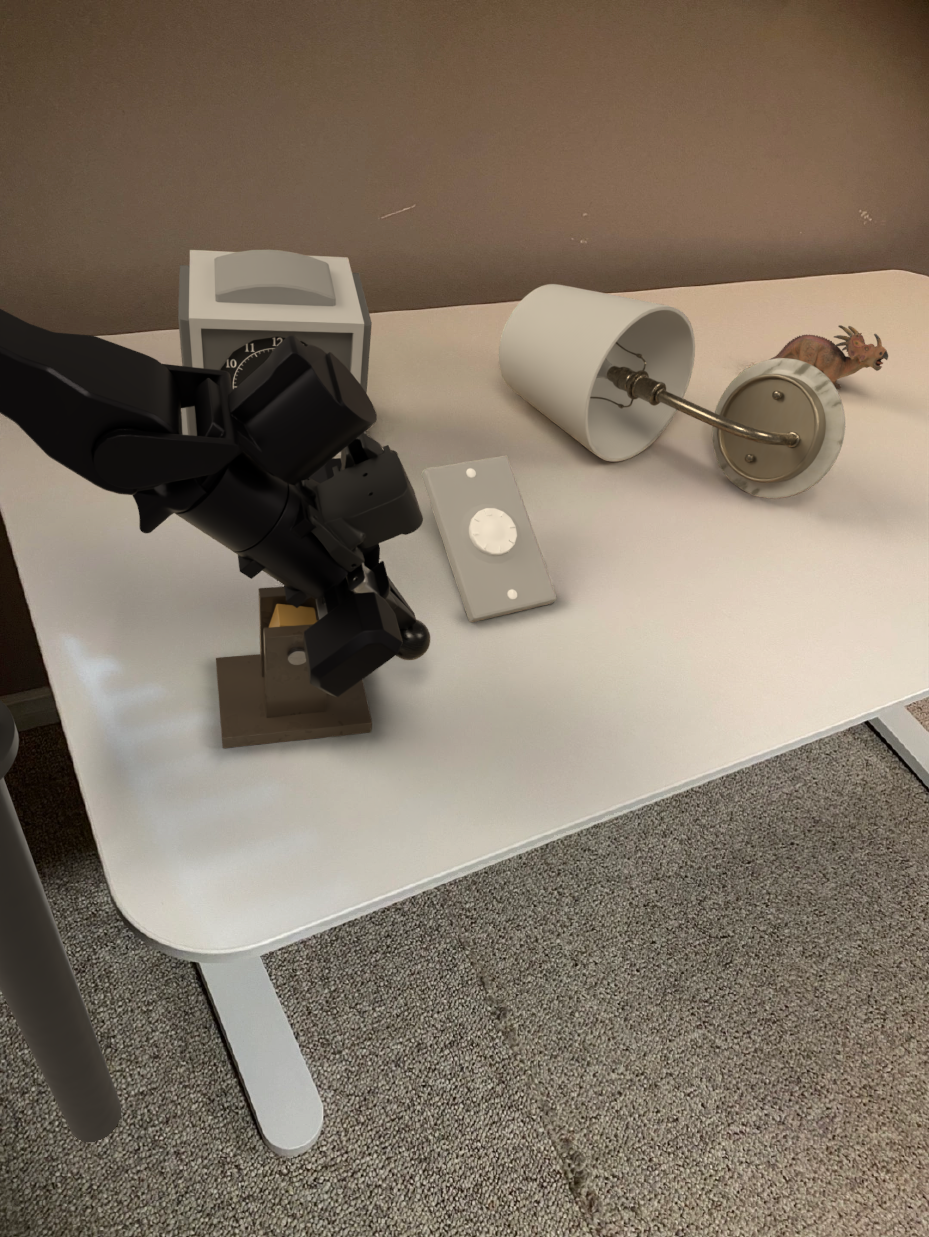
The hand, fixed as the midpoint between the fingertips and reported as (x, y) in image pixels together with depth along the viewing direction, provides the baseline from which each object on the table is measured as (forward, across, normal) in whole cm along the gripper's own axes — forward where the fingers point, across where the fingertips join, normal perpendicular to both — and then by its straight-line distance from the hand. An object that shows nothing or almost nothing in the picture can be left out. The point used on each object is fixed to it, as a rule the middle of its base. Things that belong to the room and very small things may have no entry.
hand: (411, 621), depth 69 cm
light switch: (+13, +14, -2) cm, 19 cm away
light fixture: (+29, +30, -18) cm, 46 cm away
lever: (-2, 0, +5) cm, 5 cm away
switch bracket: (-1, 0, +12) cm, 12 cm away
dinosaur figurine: (+50, +44, -38) cm, 76 cm away
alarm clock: (+1, +35, +10) cm, 37 cm away
